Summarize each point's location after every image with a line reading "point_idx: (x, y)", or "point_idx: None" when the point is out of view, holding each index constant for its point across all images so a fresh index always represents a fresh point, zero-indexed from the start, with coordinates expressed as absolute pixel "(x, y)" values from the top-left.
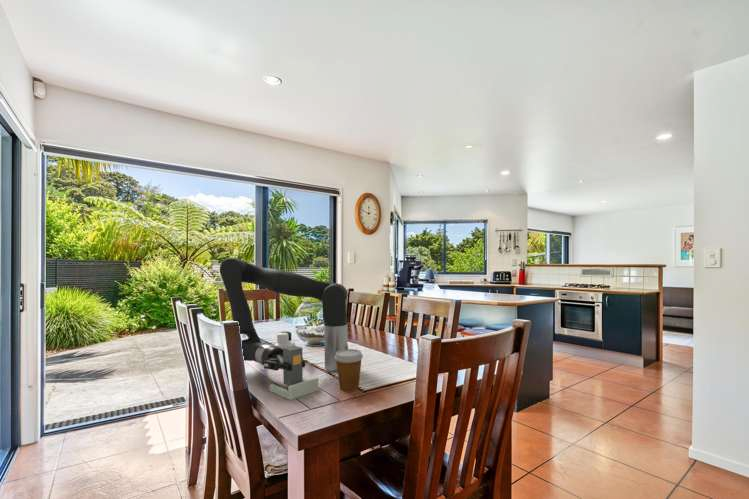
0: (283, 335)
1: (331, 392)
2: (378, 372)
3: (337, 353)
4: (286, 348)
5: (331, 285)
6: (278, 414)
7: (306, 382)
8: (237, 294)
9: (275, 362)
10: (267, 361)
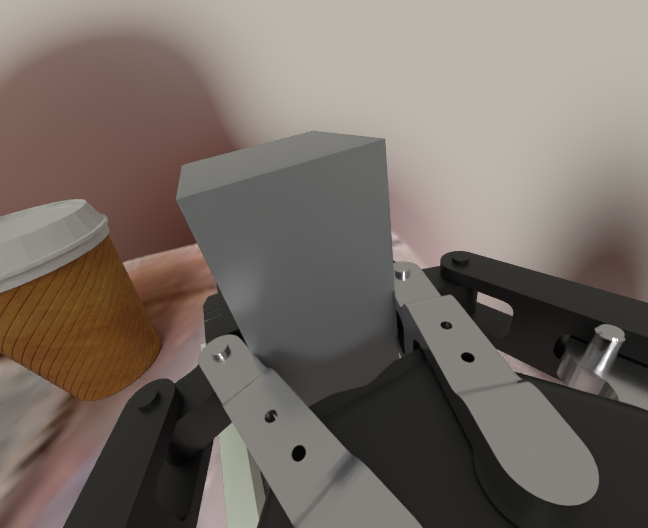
0: None
1: (200, 345)
2: None
3: (24, 239)
4: (342, 140)
5: None
6: (405, 251)
7: None
8: None
9: (474, 262)
10: (616, 298)
